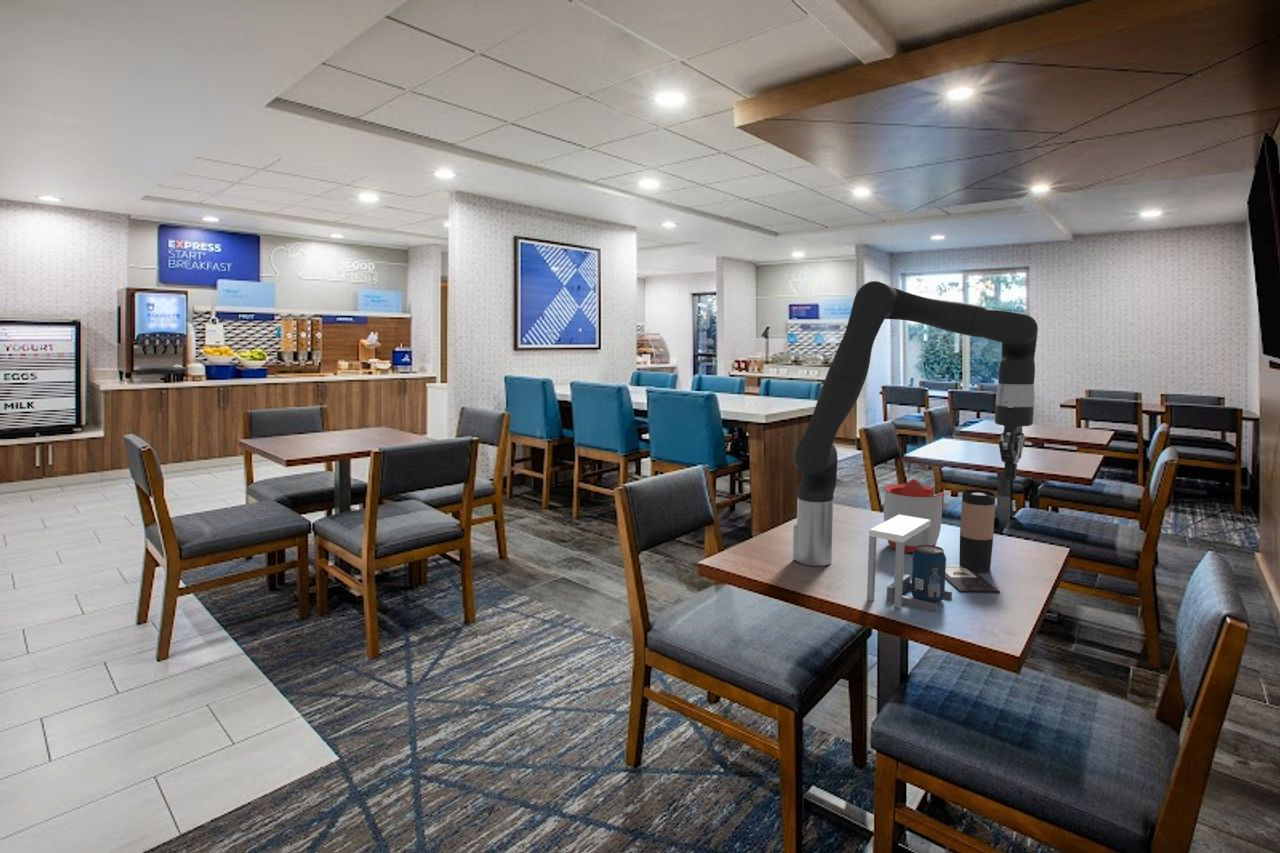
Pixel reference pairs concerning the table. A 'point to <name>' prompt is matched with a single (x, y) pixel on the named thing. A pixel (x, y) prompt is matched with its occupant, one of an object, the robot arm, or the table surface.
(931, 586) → the soda can
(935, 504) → the citrus juicer
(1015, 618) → the table surface
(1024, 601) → the table surface
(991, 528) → the travel mug
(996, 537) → the table surface
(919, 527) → the overhang shelf
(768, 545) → the table surface
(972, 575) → the chocolate bar
